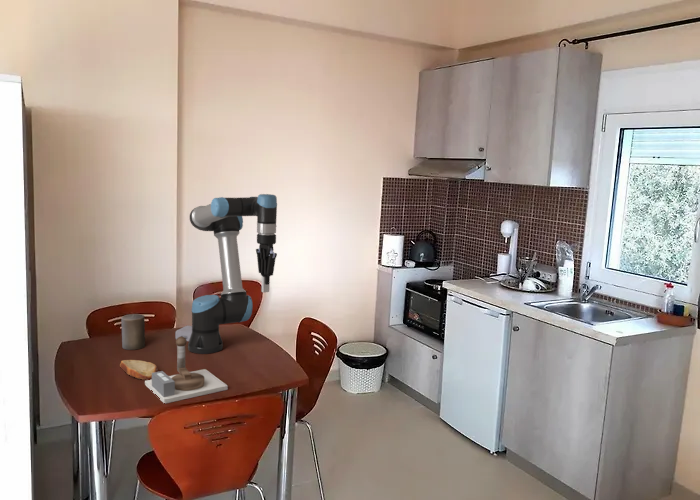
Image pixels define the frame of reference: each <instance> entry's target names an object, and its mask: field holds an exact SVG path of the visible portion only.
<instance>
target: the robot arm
mask: <svg viewBox="0 0 700 500" xmlns="http://www.w3.org/2000/svg"><path fill="white" fill-rule="evenodd" d="M277 209H278V200H277V196H276V195H275V194H269V193H266V194H265V193H261V194H259V195H257V196H247V197H223V196H219V197H214V198H212V200H211V202H210V204H207V205H200V206H195V207H194V208H193V209H191V212H190V213H189V222H190V224H191V225H192V227H194V228H195V229H197V230H200V231H203V232H213V236H214V237H215V238H216V239H217V243H218V252H219V262H220V271H221V278H222V288H223V289H222V292H221V293H220V296H219V295H217V294H211V295H210V294H205V295H200V296H199V297H196V298H195V299H193V301H192V305H191V326H192V334H191V337H190V340H189V341H188V343H187V349H188V351H189V352H191V353H194V354H202V355H203V354H205V355H207V354H213V353H217V352H221V351H222V350H223V348H224V343H223V340H222V336H221V333H220V325H226V324H227V325H228V324H235V323H243V322H247V321H249V319H250V318H251V316H252V314H253V308H254V307H253V305H254V304H253V299H252V296H250V295H249V294H247V291H246V290H245V289H244V287H243V281H242V273H241V272H242V271H241V263H240V254H239V246H238V239H237V237H238V236H239V235H240V231H241V230H242V229H243V227H244V224H243V223H244V217H257V219H256V220H257V221H256V233H257V234H256V243H257V244H259V246H258V248H255V251H256V253H255V254H256V259H257V267H258V268H257V269H258V274H260V276H261V292H262V293H269V292H270V283H271V282H270V279H271V278H270V277H272V276H274V271H275V264H276V260H277V259H276V258H277V257H278V253H277V252H274V245H275V244H277V235H276V233H277V214H278V213H277V212H278V210H277Z"/></svg>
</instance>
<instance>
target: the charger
mask: <svg viewBox="0 0 700 500" xmlns="http://www.w3.org/2000/svg"><path fill="white" fill-rule="evenodd" d="M191 334H192V325H184V326H183V327H181V328H179V329H177V330H175V336H174V337H175V340H176V339H177V338H178V337H184V338H186V340H187V342H189V340H190V337H191Z"/></svg>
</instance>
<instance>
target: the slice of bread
mask: <svg viewBox="0 0 700 500" xmlns="http://www.w3.org/2000/svg"><path fill="white" fill-rule="evenodd" d="M119 367H121V368H122V369H123V370H124V371H125V372H126V373H125V372H124V371H123V370H122V369H121V368H120V369H121V370H122V371H123V372H124V373H125V374H127V375H128V376H129V375H130V376H129V377H132V378H134V377H135V378H134V379H137V380H140V379H142V380H141V381H147V380H148V379H150V380H152V373H154V372H160V371H159V369H158V366H157V365H156V364H155V363H153V362H149V361H145V360H137V359H123V360H121V361H120V364H119ZM145 379H146V380H145Z"/></svg>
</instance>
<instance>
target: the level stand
mask: <svg viewBox="0 0 700 500" xmlns="http://www.w3.org/2000/svg"><path fill="white" fill-rule="evenodd" d="M189 372H190V373H198V374H201V375H203V376H204V385H203V386H202V387H200V388H197V389H193V390H177V389H175V381H173V380H172V379H171V378H172V377H173V376H175V375H178V374H179V373H177V374H172V375H168V374H166V372H164V371H163V370H161V371H159V372H154V373H152V379H150V380H144V385H145V386H146V388H148V389H149V390H150V391H151V390H152V391H153V392H152V391H151V392H152V393H153V394H154V395H155V394H156V395H157V396H158V397H159V398H160V399H159V398H158V397H157V396H156V395H155V396H156V397H157V398H158V399H159V400H160V402H162V403H163V404H164V403H165V404H170V403H173V402H178V401H183V400H186V399H191V398H196V397H199V396H205V395H208V394H209V395H210V394H214V393H219V392H222V391H223V392H224V391H227V390H229V388H228V387H229V386H228V385H227V383H225V382H223V381H222V380H220V379H219V378H218V377H216V376H215V375H214V374H213V373H211V372H210V371H209V370H207V369H206V368H203V369H199V370H198V369H197V370H194V371H189Z"/></svg>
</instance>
